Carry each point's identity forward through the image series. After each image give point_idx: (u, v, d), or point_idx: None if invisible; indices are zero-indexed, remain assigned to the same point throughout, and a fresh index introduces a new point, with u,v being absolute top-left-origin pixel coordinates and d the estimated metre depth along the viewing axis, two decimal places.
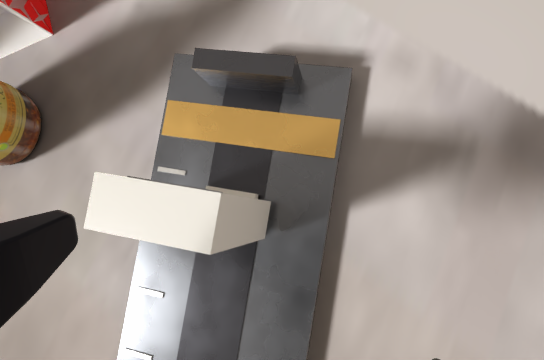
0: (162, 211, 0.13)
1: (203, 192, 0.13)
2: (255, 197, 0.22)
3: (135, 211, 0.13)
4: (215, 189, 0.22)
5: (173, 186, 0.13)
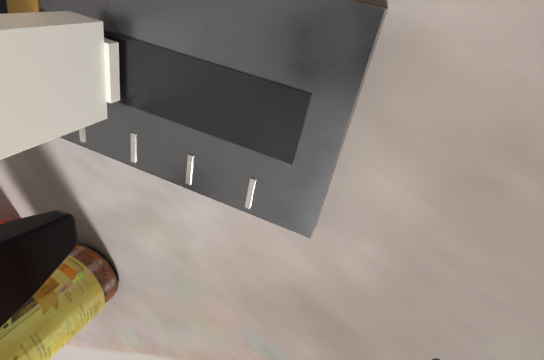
0: None
1: None
2: None
3: None
4: None
5: None
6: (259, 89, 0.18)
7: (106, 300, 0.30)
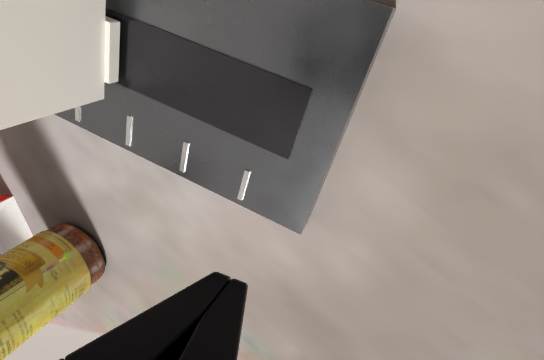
0: None
1: None
2: None
3: None
4: None
5: None
6: (260, 81, 0.17)
7: (92, 282, 0.30)
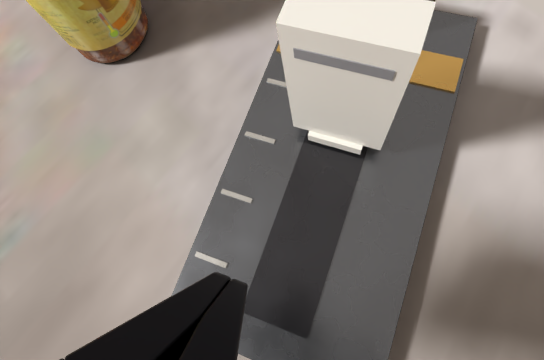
0: (368, 13, 0.13)
1: (415, 0, 0.13)
2: None
3: (337, 11, 0.13)
4: None
5: None
6: (312, 287, 0.20)
7: (77, 48, 0.26)
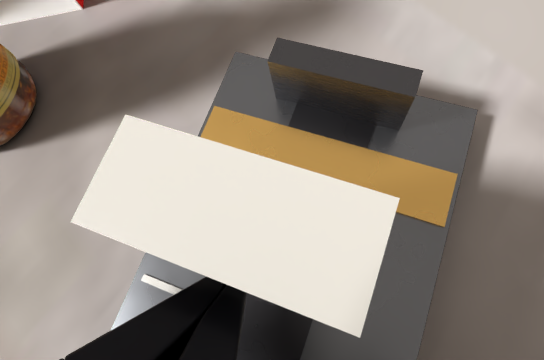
0: (255, 216, 0.06)
1: (356, 190, 0.06)
2: None
3: (194, 205, 0.06)
4: None
5: (289, 167, 0.06)
6: None
7: None
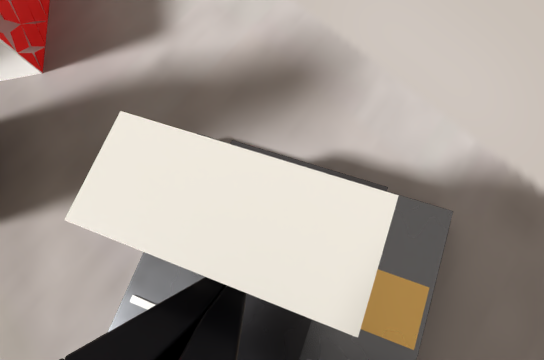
0: (251, 214, 0.06)
1: (354, 188, 0.06)
2: None
3: (189, 203, 0.06)
4: None
5: (286, 164, 0.06)
6: None
7: None
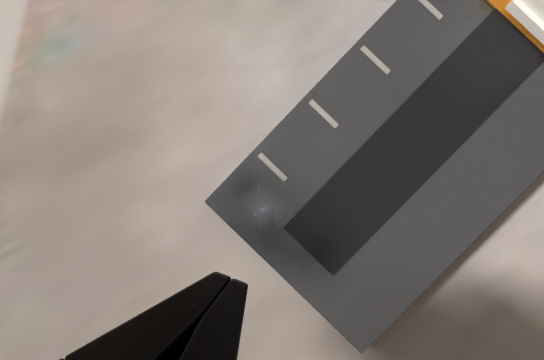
0: None
1: None
2: None
3: None
4: None
5: None
6: (358, 235, 0.20)
7: None
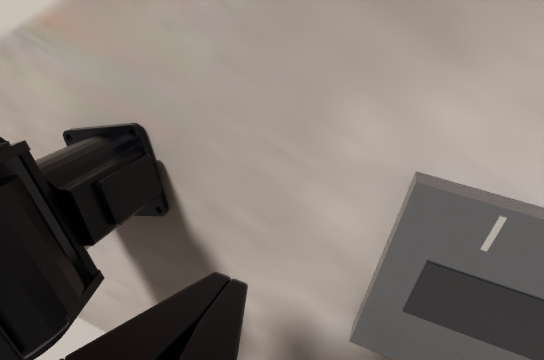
0: None
1: None
2: None
3: None
4: None
5: None
6: (453, 321, 0.20)
7: None
